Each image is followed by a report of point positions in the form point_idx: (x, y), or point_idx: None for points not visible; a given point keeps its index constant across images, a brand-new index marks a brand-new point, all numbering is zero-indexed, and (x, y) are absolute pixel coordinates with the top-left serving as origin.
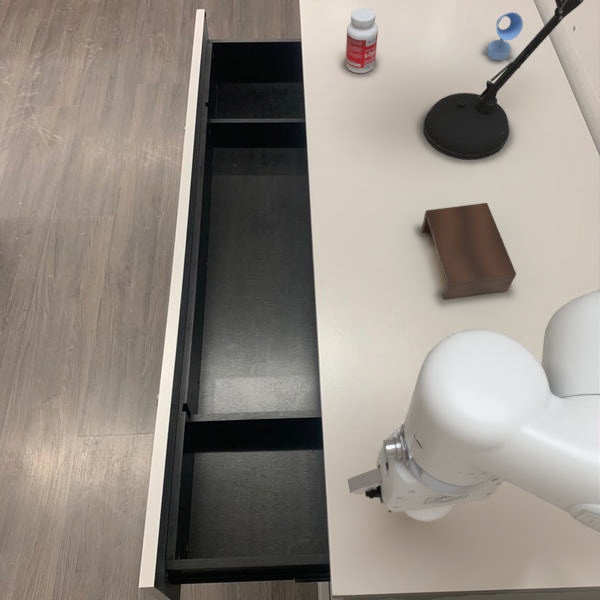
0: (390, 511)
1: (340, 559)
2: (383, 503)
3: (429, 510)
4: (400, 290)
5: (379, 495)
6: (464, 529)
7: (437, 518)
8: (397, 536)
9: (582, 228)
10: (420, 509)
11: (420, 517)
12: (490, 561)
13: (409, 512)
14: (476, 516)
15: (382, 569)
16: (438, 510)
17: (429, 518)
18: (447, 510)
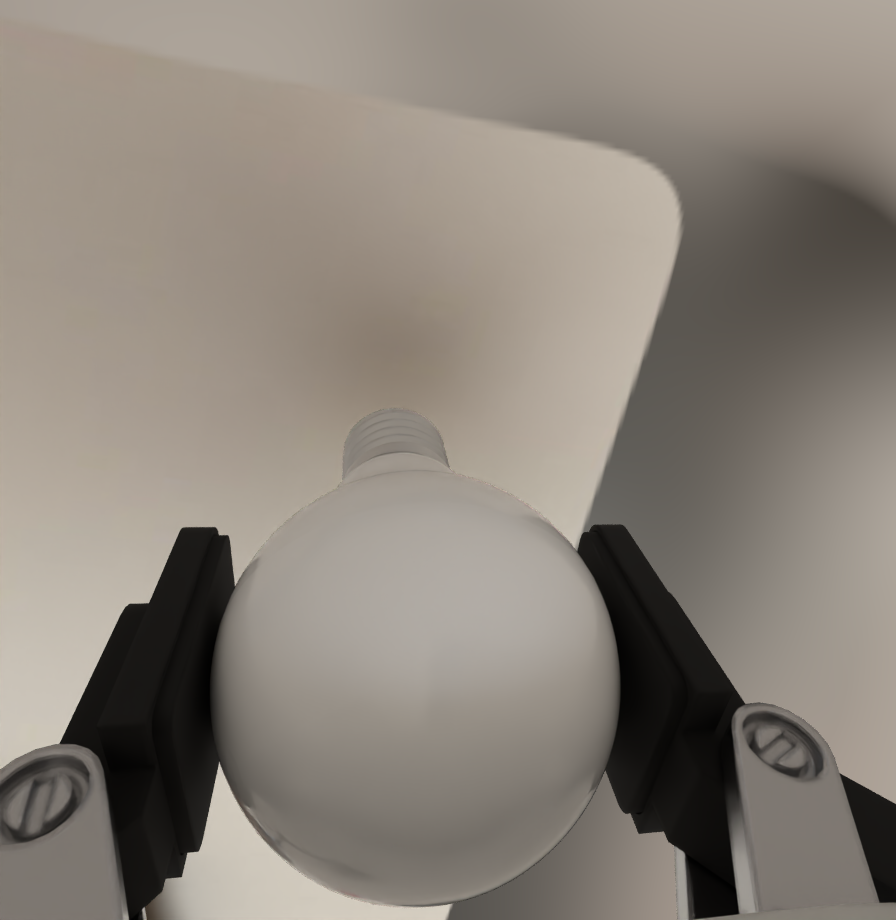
0: (630, 541)
1: (656, 266)
2: (793, 717)
3: (477, 639)
4: (264, 865)
5: (872, 838)
6: (199, 276)
7: (400, 525)
8: (447, 299)
9: None
10: (543, 649)
11: (525, 553)
12: (112, 138)
13: (584, 586)
14: (145, 310)
15: (532, 203)
16: (401, 625)
17: (467, 545)
18: (317, 586)
